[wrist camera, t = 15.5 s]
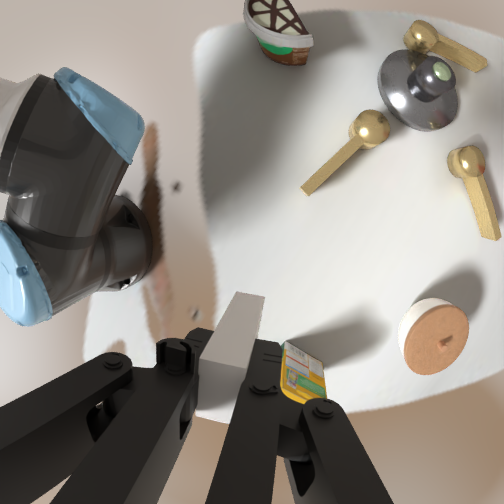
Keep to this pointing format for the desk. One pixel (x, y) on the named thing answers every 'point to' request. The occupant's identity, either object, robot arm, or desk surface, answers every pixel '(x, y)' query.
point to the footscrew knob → (352, 145)
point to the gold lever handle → (475, 187)
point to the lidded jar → (432, 335)
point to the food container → (278, 30)
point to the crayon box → (301, 375)
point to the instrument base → (405, 98)
